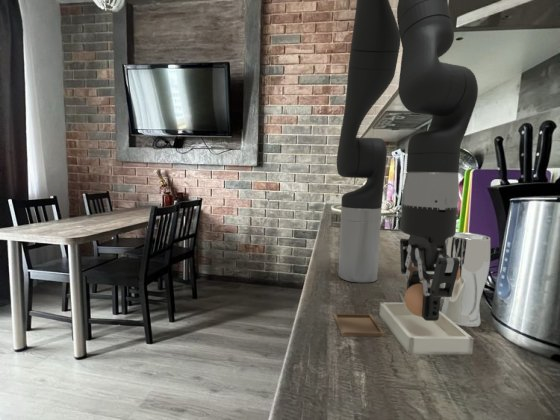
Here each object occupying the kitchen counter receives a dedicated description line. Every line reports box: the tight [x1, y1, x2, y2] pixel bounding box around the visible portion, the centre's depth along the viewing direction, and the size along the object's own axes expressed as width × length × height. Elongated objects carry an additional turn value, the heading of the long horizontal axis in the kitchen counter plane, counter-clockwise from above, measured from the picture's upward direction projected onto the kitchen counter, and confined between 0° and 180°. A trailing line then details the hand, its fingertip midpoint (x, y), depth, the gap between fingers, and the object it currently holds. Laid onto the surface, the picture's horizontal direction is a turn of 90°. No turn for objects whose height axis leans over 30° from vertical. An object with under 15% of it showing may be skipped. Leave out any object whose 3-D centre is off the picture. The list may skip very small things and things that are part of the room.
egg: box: [403, 283, 431, 317], centre depth 49 cm, size 5×5×5 cm
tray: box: [378, 301, 475, 356], centre depth 49 cm, size 12×9×3 cm
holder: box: [332, 313, 386, 338], centre depth 51 cm, size 7×7×1 cm
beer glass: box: [440, 231, 491, 328], centre depth 54 cm, size 7×7×15 cm
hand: (421, 311), depth 49 cm, fingers closed on egg, 5 cm apart
